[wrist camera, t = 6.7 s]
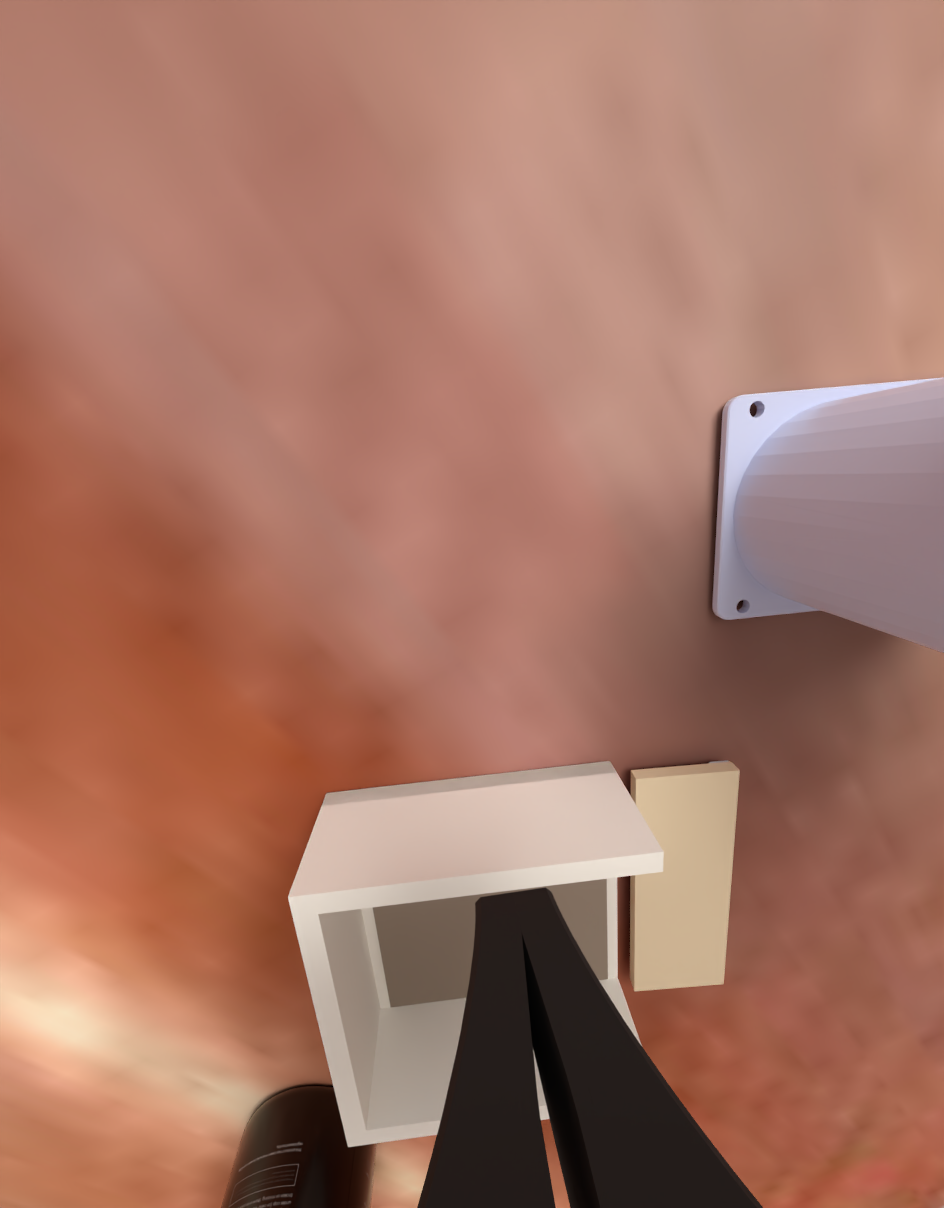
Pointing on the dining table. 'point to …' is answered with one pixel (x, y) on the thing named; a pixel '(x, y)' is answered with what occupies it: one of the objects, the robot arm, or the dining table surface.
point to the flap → (684, 875)
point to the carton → (446, 918)
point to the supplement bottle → (300, 1156)
